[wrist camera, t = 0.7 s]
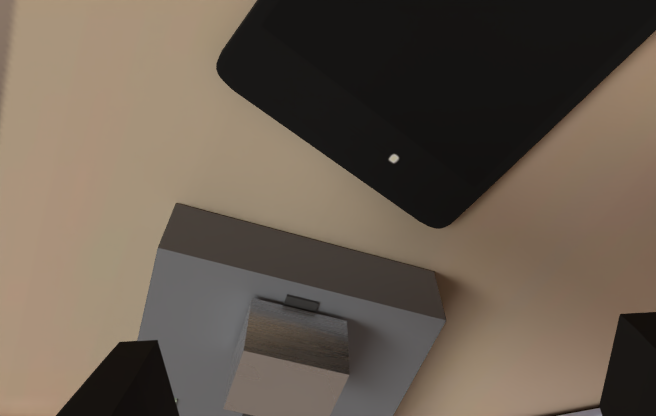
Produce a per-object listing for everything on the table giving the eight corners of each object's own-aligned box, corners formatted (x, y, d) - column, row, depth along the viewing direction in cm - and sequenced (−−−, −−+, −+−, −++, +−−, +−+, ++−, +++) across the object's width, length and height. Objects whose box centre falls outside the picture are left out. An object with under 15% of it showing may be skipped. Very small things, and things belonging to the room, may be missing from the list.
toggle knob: (323, 374, 20) (322, 430, 18) (233, 353, 19) (223, 409, 18) (346, 320, 19) (349, 375, 17) (251, 297, 18) (243, 350, 16)
